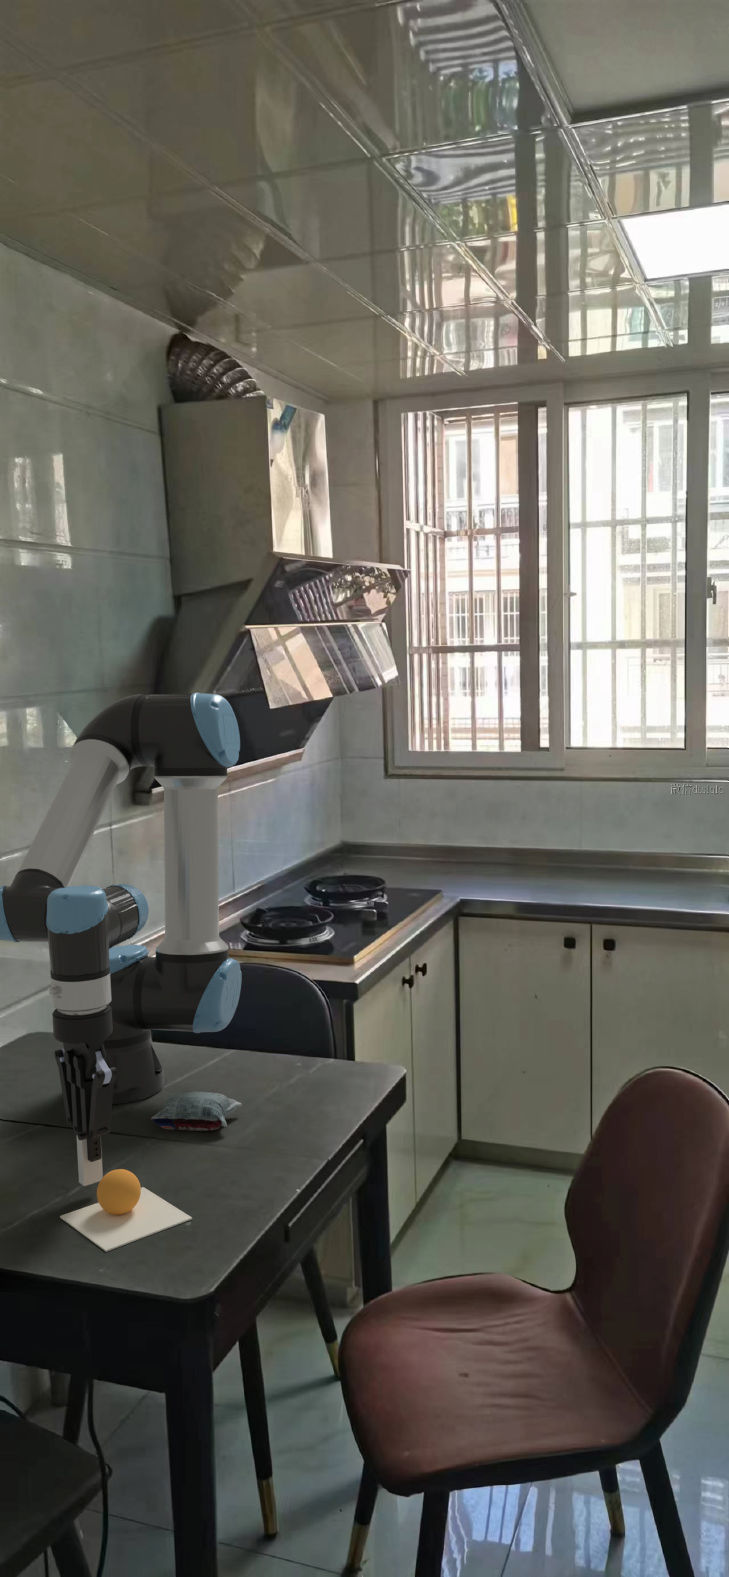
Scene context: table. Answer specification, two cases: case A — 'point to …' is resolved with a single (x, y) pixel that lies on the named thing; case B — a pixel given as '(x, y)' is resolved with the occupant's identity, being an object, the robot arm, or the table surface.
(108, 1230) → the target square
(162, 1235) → the table surface
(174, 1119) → the packaged food
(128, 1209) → the ball
